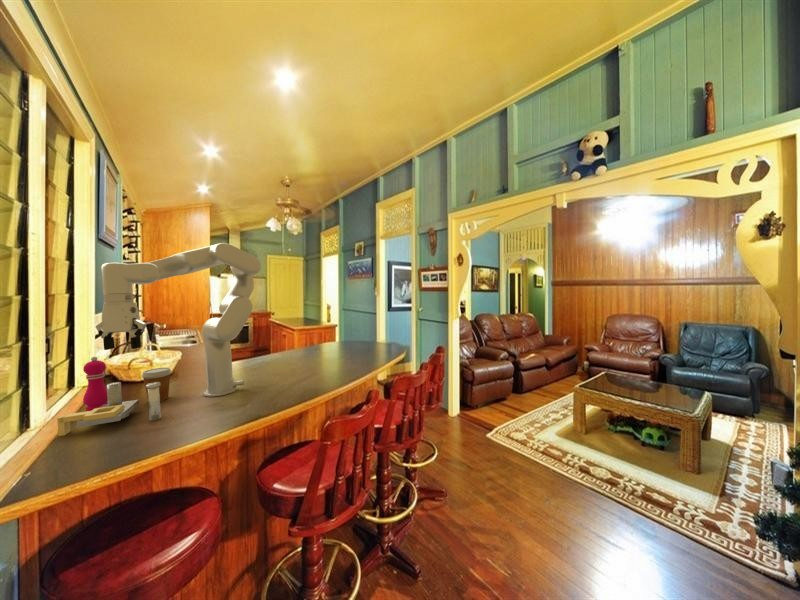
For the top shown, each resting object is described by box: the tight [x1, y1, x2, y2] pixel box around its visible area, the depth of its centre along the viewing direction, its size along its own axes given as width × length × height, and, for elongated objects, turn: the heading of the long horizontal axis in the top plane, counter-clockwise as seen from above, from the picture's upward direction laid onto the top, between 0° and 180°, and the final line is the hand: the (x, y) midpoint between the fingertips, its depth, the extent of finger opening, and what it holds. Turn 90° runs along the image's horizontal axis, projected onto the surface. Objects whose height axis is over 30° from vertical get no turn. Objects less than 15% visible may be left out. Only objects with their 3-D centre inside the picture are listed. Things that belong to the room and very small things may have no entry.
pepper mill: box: [82, 356, 108, 412], centre depth 116 cm, size 7×7×20 cm
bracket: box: [56, 404, 124, 437], centre depth 99 cm, size 14×7×6 cm, turn 114°
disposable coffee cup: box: [141, 367, 172, 402], centre depth 125 cm, size 10×10×12 cm
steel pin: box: [145, 382, 162, 422], centre depth 106 cm, size 4×4×12 cm
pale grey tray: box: [76, 381, 140, 428], centre depth 104 cm, size 10×17×12 cm, turn 24°
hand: (122, 348), depth 108 cm, fingers open, 9 cm apart
